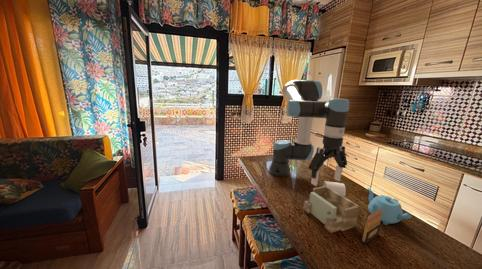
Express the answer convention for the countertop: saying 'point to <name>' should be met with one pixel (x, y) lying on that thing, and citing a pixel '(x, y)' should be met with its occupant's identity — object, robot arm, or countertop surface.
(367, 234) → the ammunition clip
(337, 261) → the countertop surface
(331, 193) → the carcass
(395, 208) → the teapot
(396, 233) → the countertop surface
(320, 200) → the door
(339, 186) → the mug
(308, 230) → the countertop surface
